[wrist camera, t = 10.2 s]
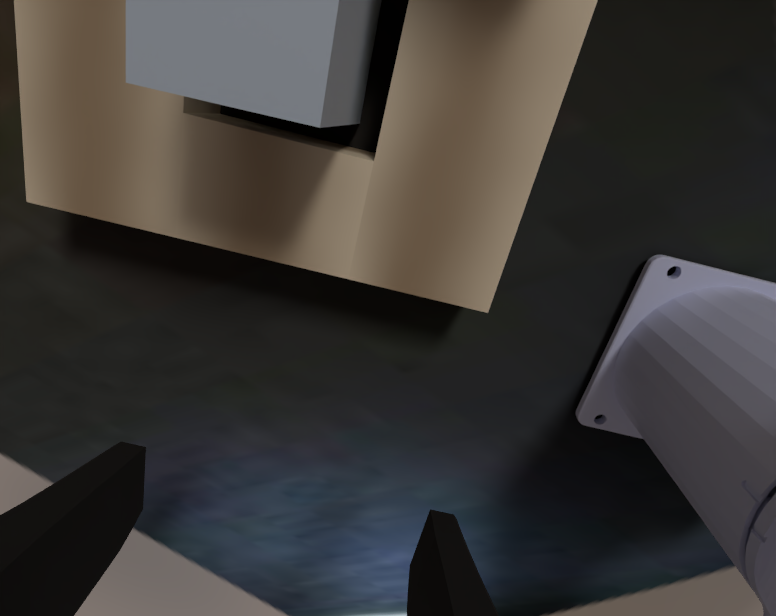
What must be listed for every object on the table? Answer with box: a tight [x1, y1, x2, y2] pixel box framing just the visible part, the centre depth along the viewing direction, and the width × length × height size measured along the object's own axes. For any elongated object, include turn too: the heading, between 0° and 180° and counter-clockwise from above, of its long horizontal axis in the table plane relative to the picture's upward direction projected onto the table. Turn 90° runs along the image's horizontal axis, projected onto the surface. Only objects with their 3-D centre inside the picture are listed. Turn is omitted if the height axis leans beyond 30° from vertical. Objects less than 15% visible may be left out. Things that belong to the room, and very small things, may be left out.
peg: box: [126, 0, 382, 128], centre depth 12 cm, size 4×4×8 cm
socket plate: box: [14, 0, 597, 313], centre depth 15 cm, size 16×14×3 cm
